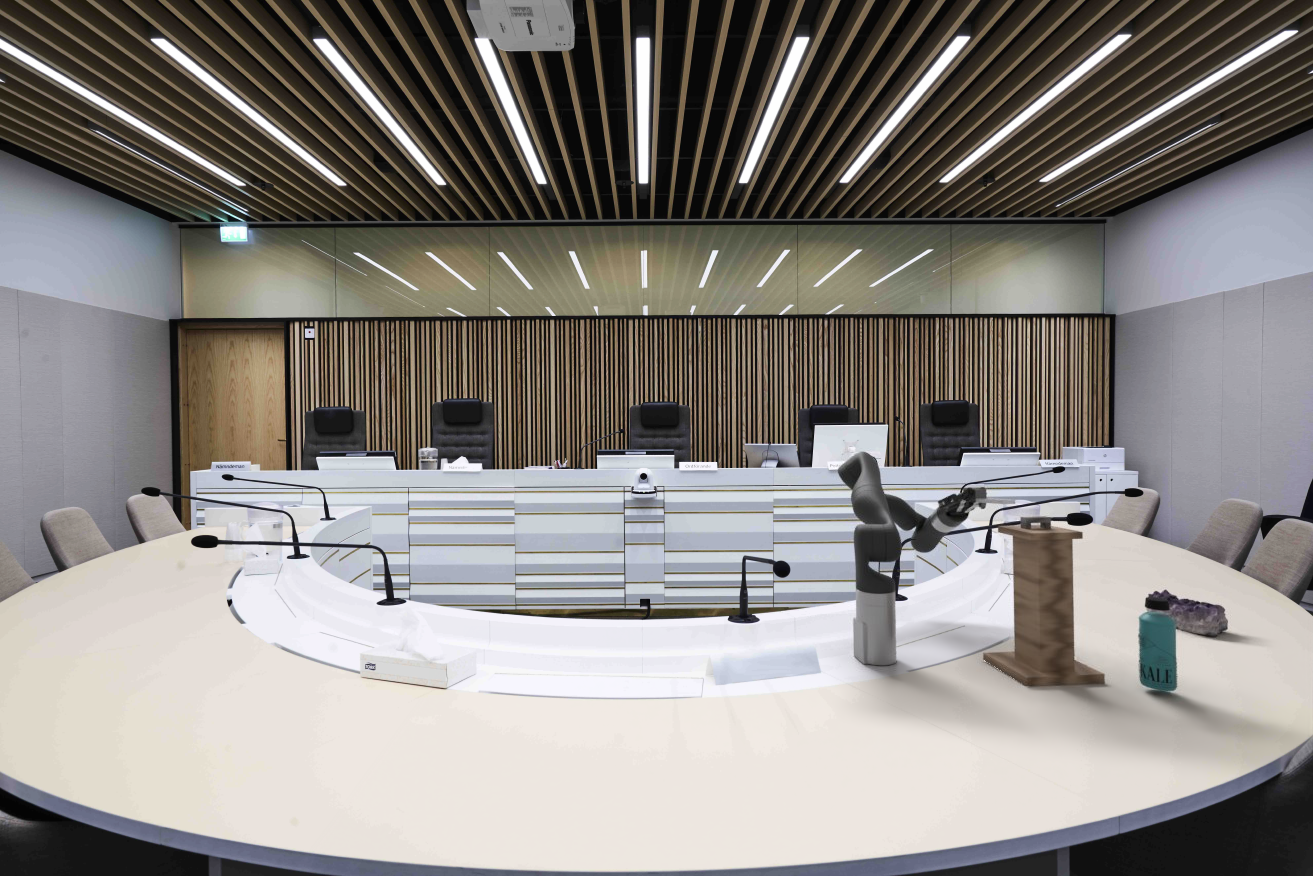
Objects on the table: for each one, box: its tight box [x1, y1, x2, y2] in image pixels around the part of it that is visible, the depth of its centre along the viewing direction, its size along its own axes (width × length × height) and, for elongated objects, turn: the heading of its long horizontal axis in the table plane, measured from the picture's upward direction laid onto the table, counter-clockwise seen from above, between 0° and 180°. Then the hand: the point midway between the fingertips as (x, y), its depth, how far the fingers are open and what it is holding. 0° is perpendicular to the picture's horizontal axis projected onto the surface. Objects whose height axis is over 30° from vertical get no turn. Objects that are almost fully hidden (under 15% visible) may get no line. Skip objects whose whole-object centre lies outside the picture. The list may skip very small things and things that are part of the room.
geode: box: [1145, 589, 1229, 638], centre depth 178 cm, size 20×12×10 cm, turn 16°
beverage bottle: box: [1137, 596, 1179, 692], centre depth 133 cm, size 6×7×20 cm
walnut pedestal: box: [982, 515, 1106, 687], centre depth 146 cm, size 18×16×36 cm
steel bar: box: [962, 488, 1016, 505], centre depth 166 cm, size 3×18×4 cm, turn 4°
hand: (977, 490), depth 170 cm, fingers closed on steel bar, 3 cm apart
